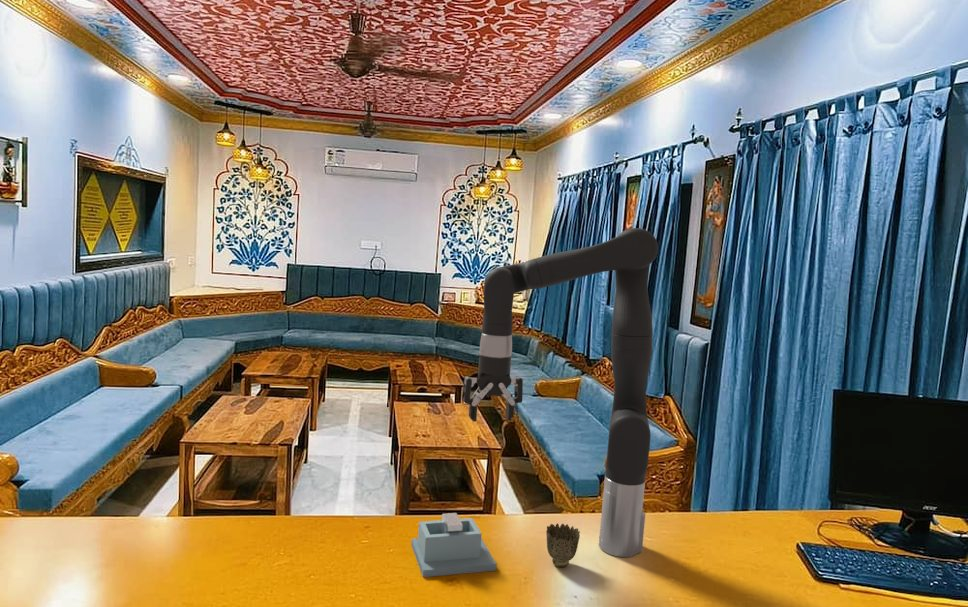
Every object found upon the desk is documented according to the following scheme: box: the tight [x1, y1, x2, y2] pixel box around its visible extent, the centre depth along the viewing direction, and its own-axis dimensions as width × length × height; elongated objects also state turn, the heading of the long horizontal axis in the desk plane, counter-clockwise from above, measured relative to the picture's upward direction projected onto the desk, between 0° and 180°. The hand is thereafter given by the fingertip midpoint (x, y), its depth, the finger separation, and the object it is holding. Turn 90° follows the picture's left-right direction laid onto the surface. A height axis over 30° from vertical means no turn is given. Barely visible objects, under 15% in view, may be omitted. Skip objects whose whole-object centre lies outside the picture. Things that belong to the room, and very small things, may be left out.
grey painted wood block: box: [441, 512, 463, 534], centre depth 141 cm, size 3×6×8 cm, turn 16°
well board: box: [410, 517, 497, 578], centre depth 143 cm, size 16×14×7 cm
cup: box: [545, 523, 581, 569], centre depth 142 cm, size 8×7×8 cm
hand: (490, 420), depth 152 cm, fingers open, 8 cm apart
